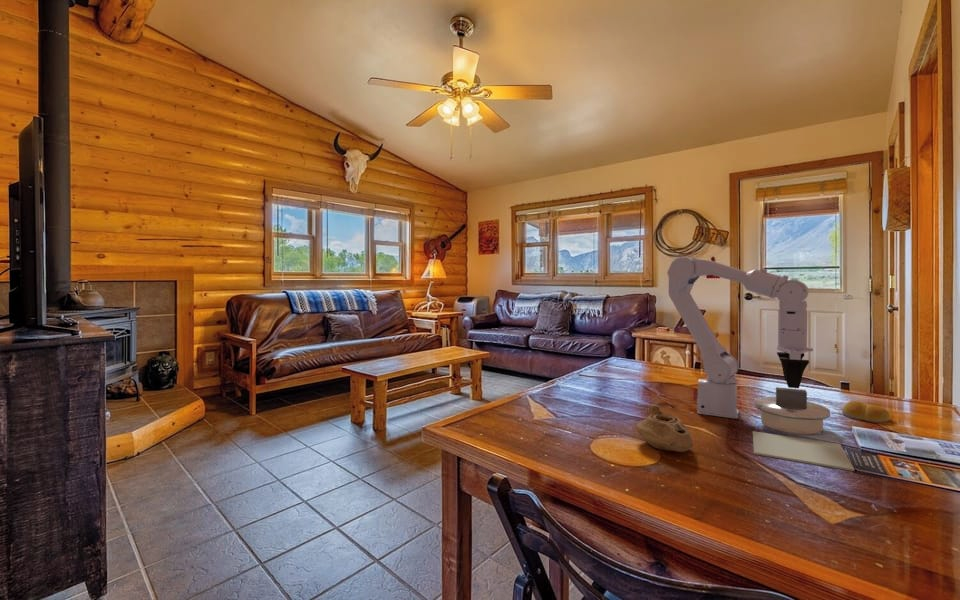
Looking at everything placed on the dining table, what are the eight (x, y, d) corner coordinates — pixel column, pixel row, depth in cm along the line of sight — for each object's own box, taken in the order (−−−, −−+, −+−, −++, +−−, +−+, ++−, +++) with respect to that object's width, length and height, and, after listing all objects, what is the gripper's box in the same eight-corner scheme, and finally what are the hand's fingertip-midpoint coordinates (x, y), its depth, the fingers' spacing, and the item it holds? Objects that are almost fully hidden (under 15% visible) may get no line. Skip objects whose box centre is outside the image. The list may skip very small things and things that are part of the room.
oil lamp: (671, 465, 84) (671, 426, 84) (625, 438, 99) (625, 404, 98) (715, 458, 87) (715, 420, 87) (664, 433, 102) (664, 400, 101)
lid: (755, 413, 102) (755, 393, 102) (753, 398, 115) (754, 380, 115) (835, 423, 95) (835, 401, 94) (824, 406, 107) (824, 386, 107)
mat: (753, 454, 89) (753, 452, 89) (752, 432, 101) (752, 431, 101) (854, 471, 81) (854, 469, 81) (840, 445, 92) (840, 444, 92)
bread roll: (887, 426, 104) (888, 410, 104) (840, 417, 111) (840, 402, 111) (891, 418, 110) (892, 403, 110) (846, 410, 117) (846, 396, 116)
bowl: (762, 429, 103) (762, 412, 103) (760, 415, 113) (760, 400, 113) (825, 438, 97) (825, 420, 97) (817, 422, 107) (817, 406, 107)
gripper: (817, 333, 96) (816, 393, 96) (808, 326, 108) (808, 379, 109) (779, 332, 99) (778, 389, 100) (775, 325, 112) (774, 376, 112)
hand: (791, 384), depth 105 cm, fingers open, 7 cm apart
